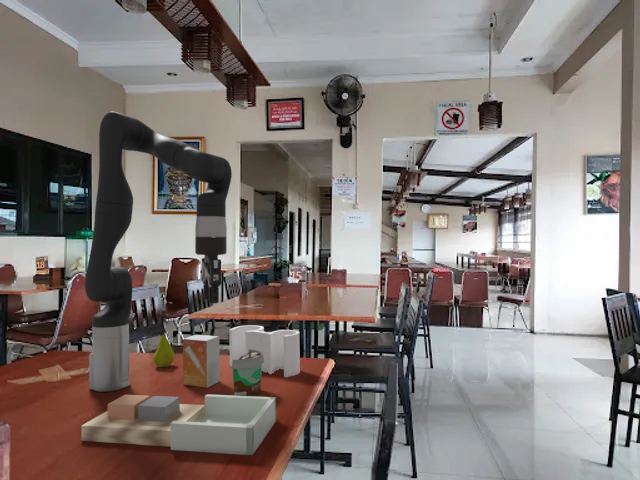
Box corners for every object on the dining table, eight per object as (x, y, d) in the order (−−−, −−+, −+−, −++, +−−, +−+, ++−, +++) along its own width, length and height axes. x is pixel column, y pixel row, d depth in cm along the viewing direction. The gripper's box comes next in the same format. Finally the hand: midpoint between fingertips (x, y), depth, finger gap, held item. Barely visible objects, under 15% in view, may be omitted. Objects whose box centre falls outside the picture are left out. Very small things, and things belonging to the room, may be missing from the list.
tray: (170, 449, 84) (170, 423, 84) (207, 416, 100) (207, 394, 100) (252, 455, 81) (252, 428, 81) (276, 420, 97) (276, 397, 97)
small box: (182, 385, 123) (182, 338, 123) (196, 378, 129) (196, 334, 129) (207, 388, 120) (206, 340, 120) (220, 381, 126) (219, 335, 126)
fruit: (169, 363, 147) (169, 327, 147) (177, 366, 142) (177, 329, 143) (150, 366, 143) (149, 329, 143) (158, 370, 138) (157, 332, 138)
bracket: (307, 370, 136) (306, 331, 136) (287, 378, 128) (286, 337, 128) (248, 359, 150) (247, 324, 150) (226, 366, 142) (226, 328, 142)
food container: (255, 401, 109) (254, 361, 109) (232, 400, 110) (231, 360, 110) (270, 386, 121) (270, 349, 121) (249, 385, 122) (249, 348, 122)
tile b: (138, 420, 91) (138, 405, 91) (154, 409, 97) (154, 395, 97) (165, 421, 90) (165, 407, 90) (179, 410, 95) (179, 397, 96)
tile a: (107, 418, 92) (107, 404, 92) (125, 408, 98) (125, 394, 98) (134, 420, 91) (133, 405, 91) (150, 409, 97) (149, 395, 97)
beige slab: (81, 440, 88) (81, 425, 88) (124, 414, 102) (124, 401, 102) (174, 446, 85) (173, 431, 85) (205, 418, 99) (204, 405, 99)
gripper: (191, 235, 114) (191, 298, 114) (199, 234, 101) (199, 305, 101) (220, 235, 117) (220, 296, 117) (232, 235, 104) (232, 303, 104)
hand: (210, 300), depth 109 cm, fingers open, 8 cm apart
